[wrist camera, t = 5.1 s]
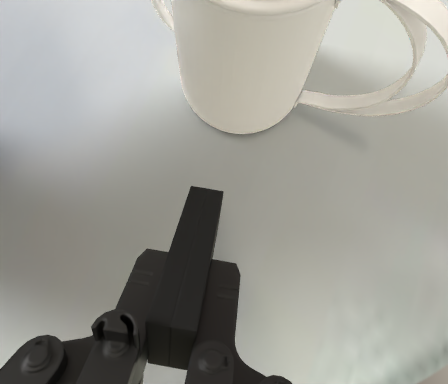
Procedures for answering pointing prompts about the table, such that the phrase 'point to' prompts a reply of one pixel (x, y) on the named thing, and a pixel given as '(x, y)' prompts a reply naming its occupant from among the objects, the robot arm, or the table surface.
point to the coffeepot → (280, 58)
